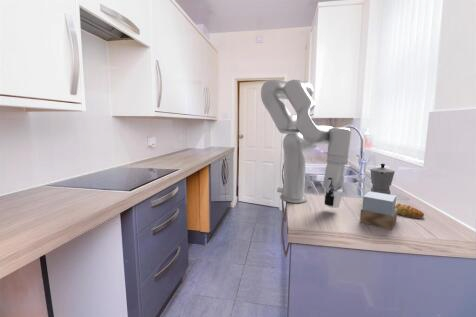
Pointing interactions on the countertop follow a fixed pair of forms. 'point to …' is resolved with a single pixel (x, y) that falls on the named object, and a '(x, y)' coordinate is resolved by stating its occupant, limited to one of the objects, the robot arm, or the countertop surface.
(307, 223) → the countertop surface
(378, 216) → the walnut base block
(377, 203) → the grey top block
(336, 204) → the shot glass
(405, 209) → the pastry
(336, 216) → the countertop surface
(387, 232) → the countertop surface
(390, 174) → the coffeepot
